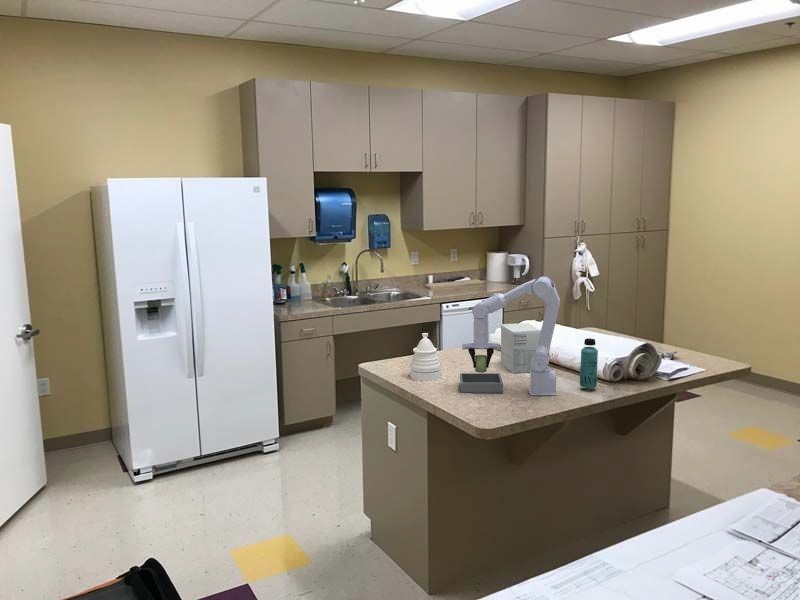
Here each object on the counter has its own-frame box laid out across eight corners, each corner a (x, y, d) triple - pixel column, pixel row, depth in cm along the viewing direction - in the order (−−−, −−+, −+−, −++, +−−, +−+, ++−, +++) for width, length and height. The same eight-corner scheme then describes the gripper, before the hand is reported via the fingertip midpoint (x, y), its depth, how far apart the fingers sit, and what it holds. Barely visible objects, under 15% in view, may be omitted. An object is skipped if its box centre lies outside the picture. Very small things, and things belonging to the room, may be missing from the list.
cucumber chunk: (486, 369, 256) (486, 354, 255) (487, 372, 252) (487, 357, 251) (474, 369, 256) (474, 354, 255) (475, 372, 252) (475, 357, 251)
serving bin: (499, 382, 262) (499, 373, 261) (503, 393, 248) (503, 383, 247) (459, 382, 263) (459, 373, 262) (460, 393, 249) (460, 383, 248)
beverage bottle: (575, 388, 252) (577, 338, 249) (588, 386, 255) (589, 336, 252) (588, 393, 246) (589, 341, 243) (600, 390, 250) (602, 339, 246)
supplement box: (542, 372, 276) (543, 330, 273) (512, 373, 274) (512, 331, 271) (528, 361, 293) (528, 322, 290) (499, 363, 291) (500, 323, 288)
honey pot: (410, 372, 279) (409, 331, 276) (440, 372, 279) (439, 331, 276) (410, 381, 266) (410, 338, 263) (442, 380, 266) (441, 337, 263)
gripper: (462, 335, 248) (462, 370, 251) (500, 335, 247) (500, 370, 250) (461, 331, 255) (462, 365, 257) (499, 331, 254) (498, 365, 257)
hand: (480, 367), depth 254 cm, fingers closed on cucumber chunk, 4 cm apart
